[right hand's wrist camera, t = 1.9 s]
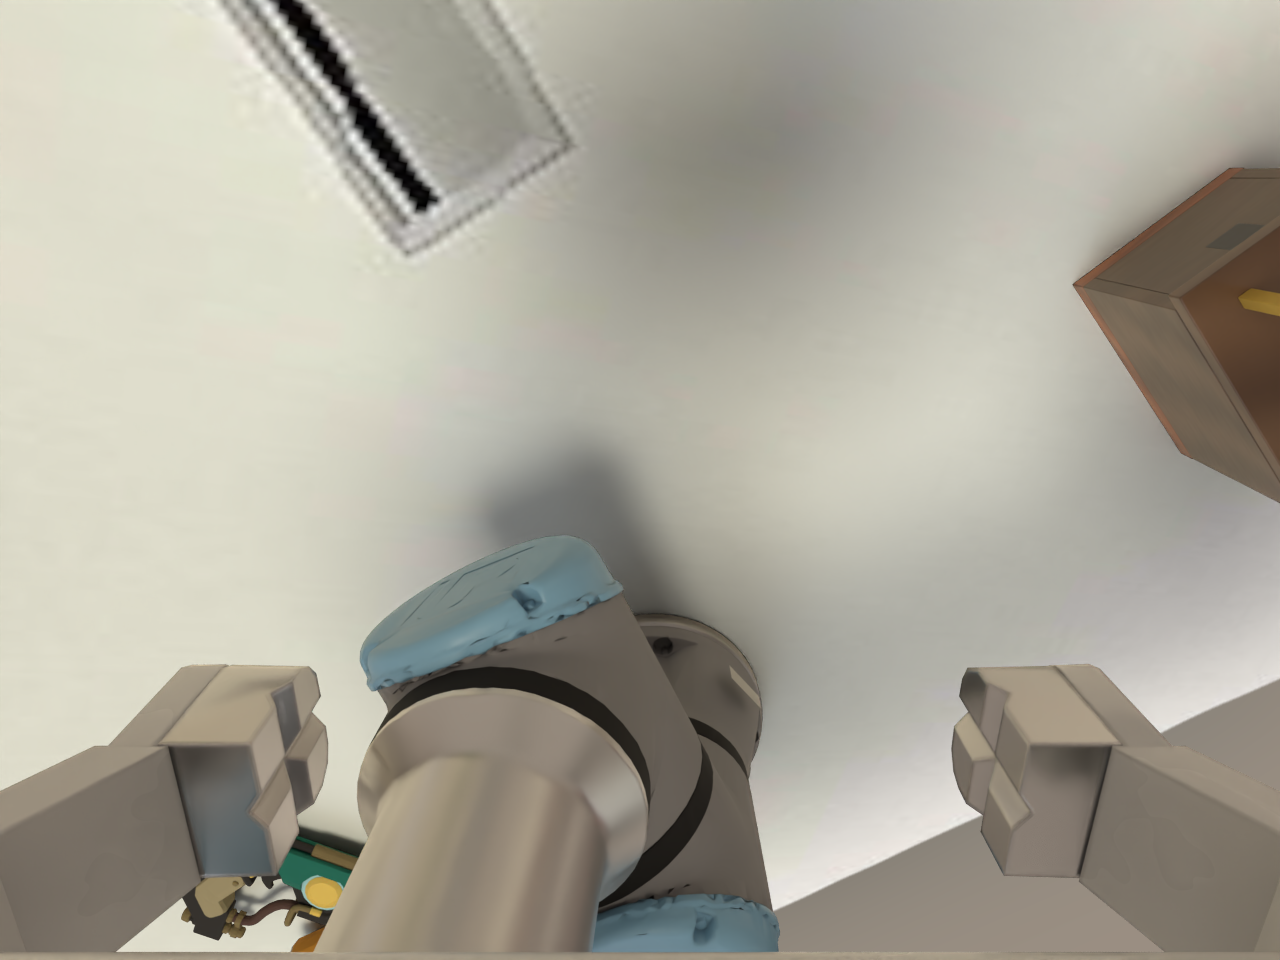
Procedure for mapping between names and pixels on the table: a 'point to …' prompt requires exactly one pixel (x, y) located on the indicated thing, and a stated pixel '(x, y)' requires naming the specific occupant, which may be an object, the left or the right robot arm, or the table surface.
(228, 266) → the table surface
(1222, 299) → the door
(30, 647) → the table surface
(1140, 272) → the brown wooden box
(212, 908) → the spray gun
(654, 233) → the table surface
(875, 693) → the table surface
